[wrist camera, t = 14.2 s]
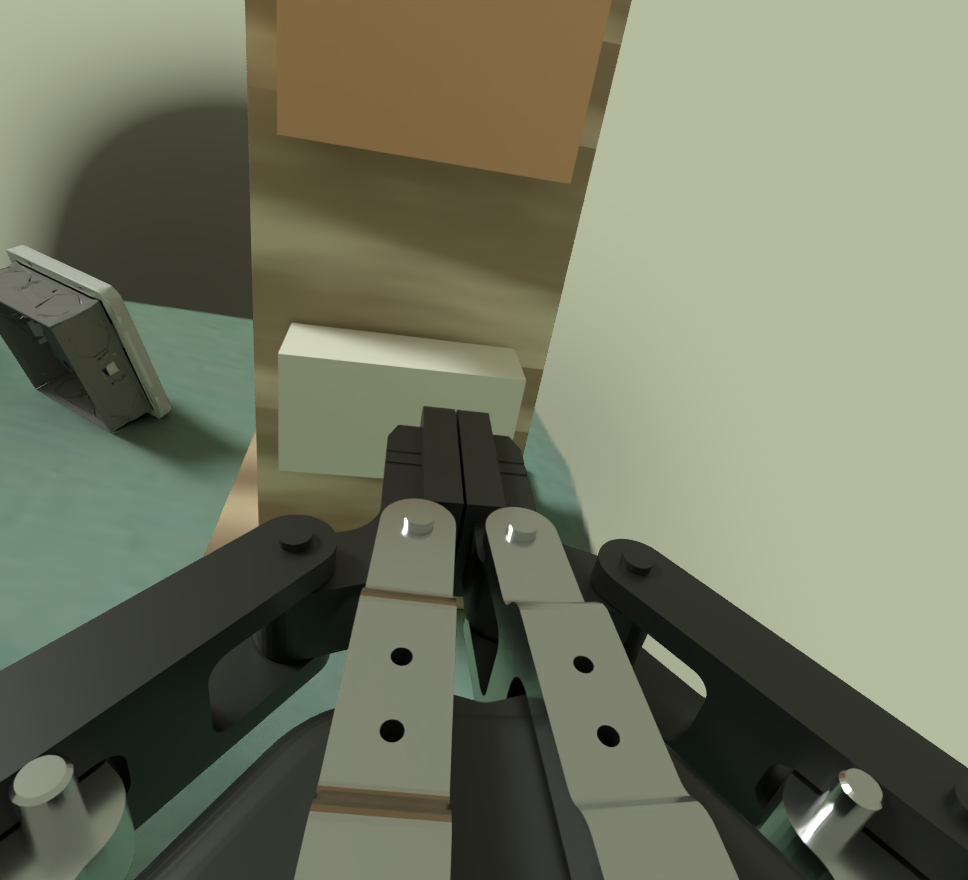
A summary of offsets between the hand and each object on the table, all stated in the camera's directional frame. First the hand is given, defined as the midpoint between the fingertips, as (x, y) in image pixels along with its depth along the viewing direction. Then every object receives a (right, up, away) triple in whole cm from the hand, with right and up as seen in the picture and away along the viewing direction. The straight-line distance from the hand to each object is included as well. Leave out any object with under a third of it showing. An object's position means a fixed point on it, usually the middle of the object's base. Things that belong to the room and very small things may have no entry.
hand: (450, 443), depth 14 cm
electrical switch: (-24, +2, +25) cm, 35 cm away
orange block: (-1, +11, +8) cm, 13 cm away
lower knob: (-3, +1, +14) cm, 14 cm away
